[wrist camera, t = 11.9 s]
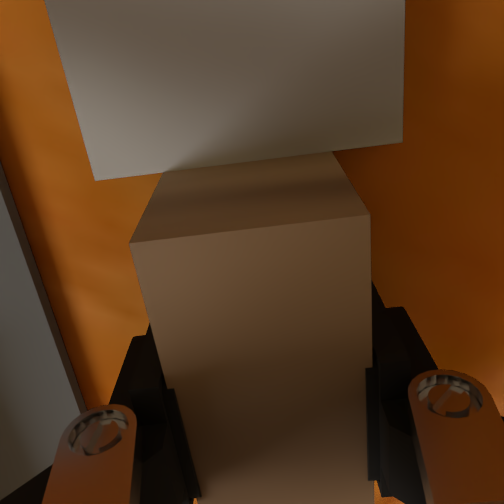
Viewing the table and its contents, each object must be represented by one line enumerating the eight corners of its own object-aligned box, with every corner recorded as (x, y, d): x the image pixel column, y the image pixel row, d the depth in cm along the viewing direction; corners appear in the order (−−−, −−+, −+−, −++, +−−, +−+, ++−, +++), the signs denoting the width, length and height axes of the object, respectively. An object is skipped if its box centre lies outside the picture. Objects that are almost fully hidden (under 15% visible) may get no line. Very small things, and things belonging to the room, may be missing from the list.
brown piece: (17, -140, 8) (-158, -255, 5) (397, -199, 8) (524, -368, 4) (179, 456, 15) (159, 599, 11) (391, 434, 14) (440, 575, 11)
